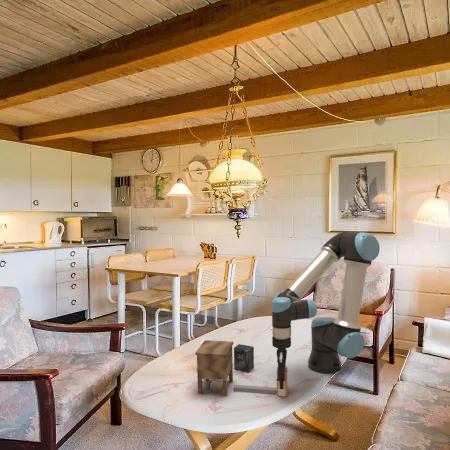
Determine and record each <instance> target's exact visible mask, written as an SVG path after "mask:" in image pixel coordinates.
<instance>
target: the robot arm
mask: <svg viewBox="0 0 450 450" xmlns="http://www.w3.org/2000/svg"><path fill="white" fill-rule="evenodd" d="M380 251H381V250H380V243H379V241H378V239H377V238H376V236H374V235H373V234H371V233H368V232H363V231H362V232H361V231H349V230H345V231H340V232H339V233H337V234H335V235H334V236H332V237H330V239H329V240H328V241H326V242H325V243H324V244H323V245H322V247H321V248H320V252H319V253H318V254H317V255H316V256H315V257H314V258H313V260H312V261H311V262H310V263H309V264H307V266H306V267H305V268H304V269H303V270H302V271H301V273H300V274H299V275H298V276H296V278H295V279H294V280H293V281H292V282H291V283H290V285H289V286H287V288H285V290H284V291H281V292H277V293H275V295H274V296H273V299H272V301H271V328H270V331H272V332H271V334H272V337H271V342H272V343H271V344H272V347H273V348H277V349H276V363H277V367H278V379H277V378H276V382H277V381H278V396H277V397H286V396H285V367H287V366H286V365H287V364H286V363H287V354H288V349H289V348H290V347H292V337H291V336H292V322H293V321H298V320H305V319H306V320H308V319H310V318H313V319H312V320H311V327H310V328H311V332H310V333H311V350H310V354H309V357H308V360H307V366H308V368H309V369H310V370H311V371H313V372H315V373H316V372H317V373H321V374H334V373H338V372H340V371H341V369H342V362H341V359H340V356H341V357H344V358H346V359H355V358H357V356H358V355H360V354H361V353H362V352H363V350H364V347H365V338H364V336H363V335H362V334H361V329H362V328H361V327H362V326H361V325H360V324H359V318H360V312H361V306H362V299H363V294H364V289H365V282H366V276H367V269H368V268H369V267H371V266H372V261H374V260H376V259H377V257H378V256H379V253H380ZM342 258H343V261H344V263H345V271H344V275H343V276H344V277H343V284H342V290H341V296H340V303H339V307H338V308H339V309H338V314H337V315H338V316H337V318H335V317H331V316H322V317H315V316H316V315H317V313H318V307H317V303H316V301H314V299H309V298H308V299H307V298H305V299H302V298H303V297H304V295H306V293H307V292H308V291H309V290H310V289H311V288H312V287H313V286H314V285H315V284H316V283H317V282H318V280H319V279H320V278H321V277H322V276H323V275H324V274H325V273H326V271H327V270H328V269H329V268H330V267H331V266H332V265H333V264H334V263H338V262H339V260H340V259H342ZM314 317H315V318H314ZM339 355H340V356H339Z"/></svg>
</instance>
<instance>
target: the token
mask: <svg viewBox="0 0 450 450" xmlns="http://www.w3.org/2000/svg"><path fill="white" fill-rule="evenodd" d="M208 392H211V393H213V392H214V393H223V381H218V380H212V381H211V383H210V385H209V386H208Z"/></svg>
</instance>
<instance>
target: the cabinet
mask: <svg viewBox="0 0 450 450" xmlns="http://www.w3.org/2000/svg"><path fill="white" fill-rule="evenodd" d="M233 346H234V341H231V340H230V341H226V340H209V339H207V340H206V339H204V340H203V342H202V343H201V344H200V346H199V347H198V349H197V350H196V351H195V352H194V353H195V354H194V355H196V362H197V363H196V369H197V371H196V372H197V376H196V377H197V395H202V394H203V380H205V381H208V382H209V381H210V380H212V381H222V382H223V392H222V396H223V397H227V396H228V383H233V382H234V380H233V379H234V377H233V376H234V375H233V372H234V362H233Z"/></svg>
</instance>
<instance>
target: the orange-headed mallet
mask: <svg viewBox="0 0 450 450" xmlns="http://www.w3.org/2000/svg"><path fill="white" fill-rule="evenodd" d="M276 368H277V369H276V387H271V386H270V387H268V386H257V385H245V384H244V385H243V384H234V385H233V386H232V387H233V392H243V393H255V394H264V395H265V394H266V395H268V394H269V395H276V396H277V397H279V396H278V381H277V379H278V366H277V367H276ZM288 392H289V391H288V367H287V366H286V367H285V397H288Z"/></svg>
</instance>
